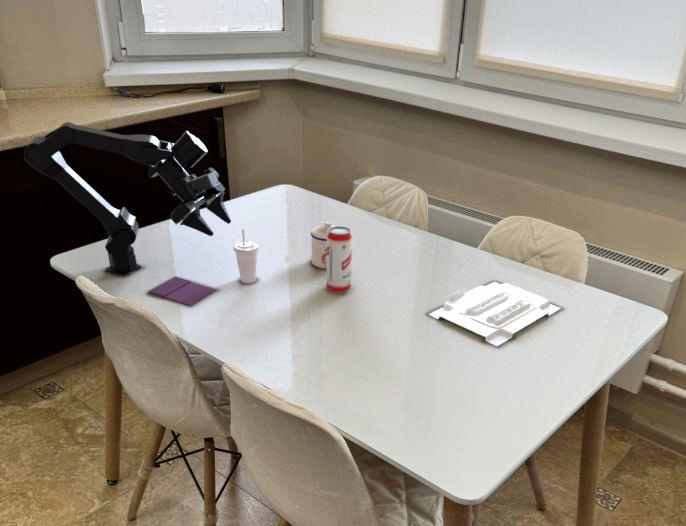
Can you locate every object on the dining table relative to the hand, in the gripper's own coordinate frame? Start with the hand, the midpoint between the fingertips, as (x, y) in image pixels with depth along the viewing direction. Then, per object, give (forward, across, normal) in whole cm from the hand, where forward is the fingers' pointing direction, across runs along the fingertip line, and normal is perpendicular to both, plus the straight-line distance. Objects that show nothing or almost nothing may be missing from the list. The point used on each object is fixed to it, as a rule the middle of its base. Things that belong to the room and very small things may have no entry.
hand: (221, 228), depth 175 cm
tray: (+59, +8, -40) cm, 72 cm away
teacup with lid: (+25, +20, -7) cm, 33 cm away
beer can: (+31, +4, -12) cm, 33 cm away
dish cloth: (+5, -12, +13) cm, 19 cm away
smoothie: (+14, 0, +4) cm, 15 cm away
